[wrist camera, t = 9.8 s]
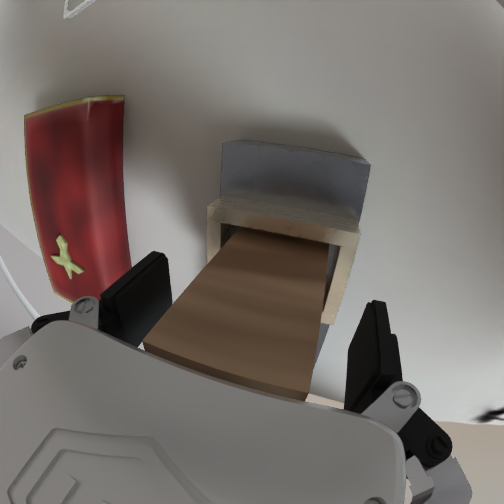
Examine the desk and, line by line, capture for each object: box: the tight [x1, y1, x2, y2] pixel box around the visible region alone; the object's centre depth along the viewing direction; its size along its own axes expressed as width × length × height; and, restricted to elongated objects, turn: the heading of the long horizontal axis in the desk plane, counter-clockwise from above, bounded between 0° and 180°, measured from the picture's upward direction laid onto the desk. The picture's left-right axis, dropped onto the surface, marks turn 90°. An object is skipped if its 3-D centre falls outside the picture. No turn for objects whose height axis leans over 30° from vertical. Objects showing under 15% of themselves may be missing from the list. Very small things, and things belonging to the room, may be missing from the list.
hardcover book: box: [24, 95, 132, 303], centre depth 21 cm, size 12×21×4 cm, turn 174°
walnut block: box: [142, 226, 329, 401], centre depth 12 cm, size 4×5×10 cm
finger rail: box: [207, 140, 371, 369], centre depth 17 cm, size 8×28×12 cm, turn 175°
